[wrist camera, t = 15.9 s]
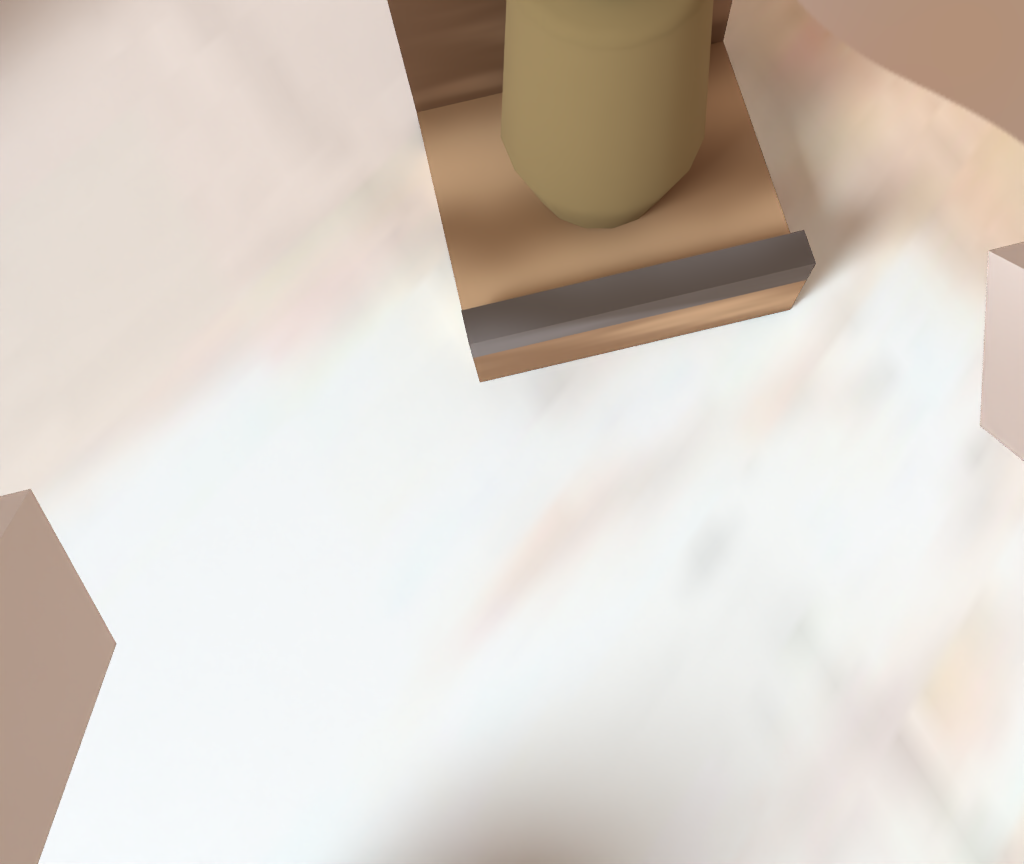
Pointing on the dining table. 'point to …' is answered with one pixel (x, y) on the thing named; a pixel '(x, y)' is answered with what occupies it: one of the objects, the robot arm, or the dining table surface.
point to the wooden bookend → (588, 251)
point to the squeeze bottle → (604, 101)
